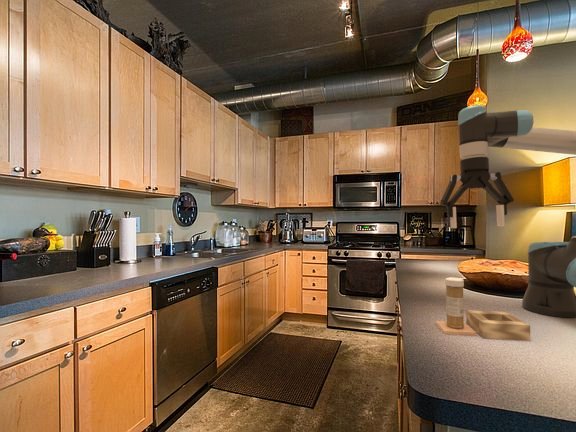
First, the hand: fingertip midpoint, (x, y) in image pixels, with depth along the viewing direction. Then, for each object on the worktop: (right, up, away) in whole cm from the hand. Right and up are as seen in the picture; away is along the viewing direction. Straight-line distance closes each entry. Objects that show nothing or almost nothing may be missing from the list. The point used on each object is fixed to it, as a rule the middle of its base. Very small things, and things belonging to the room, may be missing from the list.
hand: (477, 227), depth 94 cm
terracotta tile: (-11, -29, -8) cm, 32 cm away
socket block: (-1, -29, -9) cm, 30 cm away
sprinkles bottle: (-11, -28, -8) cm, 31 cm away
